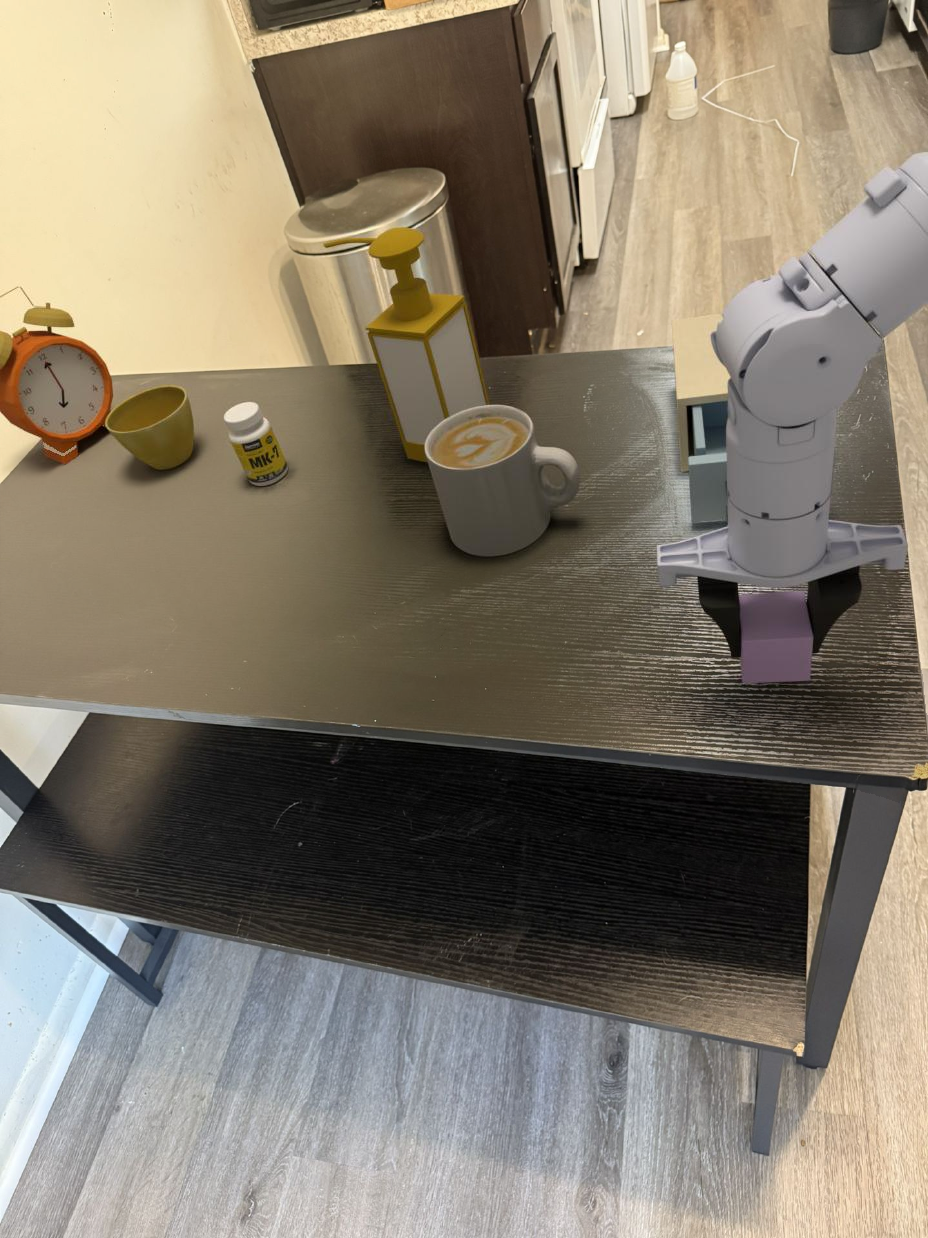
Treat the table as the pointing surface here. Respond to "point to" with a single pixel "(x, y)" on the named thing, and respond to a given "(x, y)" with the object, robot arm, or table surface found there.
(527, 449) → the coffee mug
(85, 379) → the alarm clock
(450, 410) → the soap bottle
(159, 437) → the flower pot
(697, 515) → the drawer
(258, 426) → the supplement bottle
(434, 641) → the table surface
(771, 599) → the block
